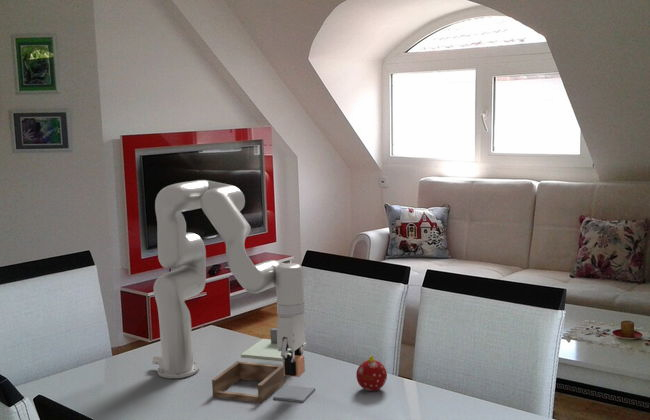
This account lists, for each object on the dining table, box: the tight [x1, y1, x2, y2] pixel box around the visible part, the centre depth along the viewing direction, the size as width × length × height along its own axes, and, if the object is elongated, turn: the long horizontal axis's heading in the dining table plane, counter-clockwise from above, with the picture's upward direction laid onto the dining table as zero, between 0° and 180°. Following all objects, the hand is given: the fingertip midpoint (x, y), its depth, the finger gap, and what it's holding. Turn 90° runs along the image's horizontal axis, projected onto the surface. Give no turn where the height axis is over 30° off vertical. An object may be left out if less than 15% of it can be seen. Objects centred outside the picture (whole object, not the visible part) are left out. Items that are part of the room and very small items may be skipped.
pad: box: [272, 384, 316, 403], centre depth 201 cm, size 9×9×1 cm
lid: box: [240, 327, 308, 363], centre depth 221 cm, size 15×15×6 cm
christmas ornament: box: [355, 355, 388, 392], centre depth 202 cm, size 9×9×10 cm
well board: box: [211, 361, 286, 404], centre depth 205 cm, size 15×15×5 cm
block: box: [282, 355, 306, 378], centre depth 200 cm, size 4×4×4 cm
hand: (294, 371), depth 200 cm, fingers closed on block, 4 cm apart
